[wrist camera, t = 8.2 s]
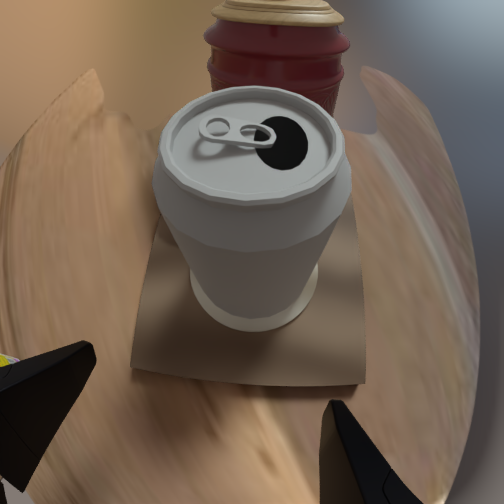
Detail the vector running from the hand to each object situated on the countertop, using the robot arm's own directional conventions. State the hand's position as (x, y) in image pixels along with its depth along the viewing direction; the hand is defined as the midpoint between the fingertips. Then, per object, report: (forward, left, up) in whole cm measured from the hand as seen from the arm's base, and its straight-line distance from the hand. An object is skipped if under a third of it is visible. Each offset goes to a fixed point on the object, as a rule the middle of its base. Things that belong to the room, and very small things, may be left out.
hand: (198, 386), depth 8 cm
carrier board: (+8, -1, -10) cm, 13 cm away
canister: (+26, -2, -10) cm, 28 cm away
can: (+8, -1, -8) cm, 11 cm away
